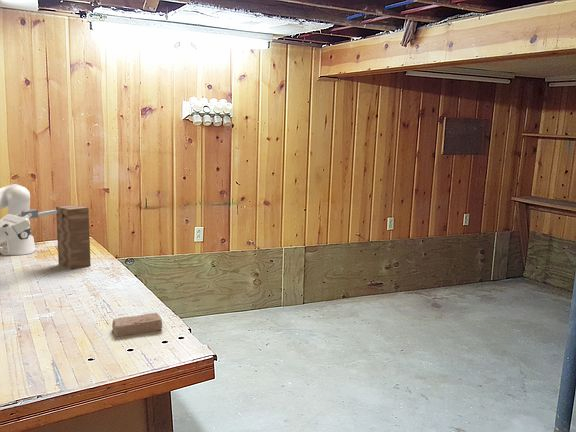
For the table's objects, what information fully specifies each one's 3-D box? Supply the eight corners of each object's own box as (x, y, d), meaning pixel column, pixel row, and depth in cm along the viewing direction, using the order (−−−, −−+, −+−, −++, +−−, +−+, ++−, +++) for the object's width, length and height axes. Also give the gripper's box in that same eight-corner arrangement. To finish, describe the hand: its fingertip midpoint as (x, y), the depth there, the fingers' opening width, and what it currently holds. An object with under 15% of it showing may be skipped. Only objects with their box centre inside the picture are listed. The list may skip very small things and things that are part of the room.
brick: (115, 338, 180) (115, 325, 179) (111, 329, 187) (111, 317, 187) (162, 331, 187) (162, 319, 187) (157, 323, 195) (157, 311, 194)
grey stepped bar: (26, 219, 248) (25, 212, 247) (22, 218, 251) (21, 211, 250) (58, 213, 260) (57, 206, 260) (54, 212, 263) (53, 205, 262)
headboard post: (58, 264, 273) (56, 206, 268) (76, 261, 281) (74, 204, 276) (72, 269, 265) (70, 209, 260) (90, 265, 272) (88, 207, 268)
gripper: (-3, 232, 250) (21, 215, 258) (16, 238, 238) (41, 220, 246) (-11, 222, 247) (14, 205, 255) (9, 227, 234) (34, 210, 243)
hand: (28, 213), depth 250 cm, fingers closed on grey stepped bar, 4 cm apart
